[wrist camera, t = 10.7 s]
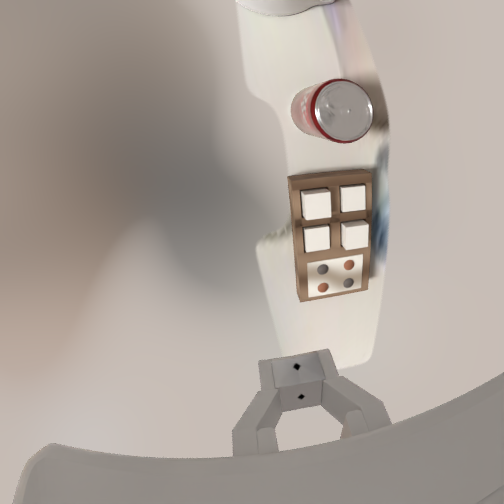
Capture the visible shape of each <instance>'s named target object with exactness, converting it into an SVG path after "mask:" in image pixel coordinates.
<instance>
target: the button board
mask: <svg viewBox="0 0 504 504" xmlns="http://www.w3.org/2000/svg"><path fill="white" fill-rule="evenodd" d="M287 178H288V188H289V199H290V209H291V220H292V232H293V244H294V257H295V271H296V286H297V294H298V297H299V300H300V302H305V301H311V300H316V299H322V298H328V297H333V296H338V295H344V294H349V293H354V292H359V291H364V290H368V280H369V267H370V250H371V224H372V173H370V172H368V171H366V170H364V169H359V170H347V171H335V172H325V173H315V174H306V175H297V176H288V177H287ZM360 183H361V184H363V185H365V210H357V211H349V212H342V211H341V210H340V195H339V185H349V184H360ZM317 188H326V189H327V190H328V191H330V196H331V217H328V218H320V219H313V220H306V219H305V218H304V216H303V215H302V204H301V192H300V190H308V189H317ZM357 219H363V220H364V221H365V222H366V223H367V224H369V229H368V247H363V248H357V249H351V250H346V249H345V248H344V247H343V246H342V244H341V226H340V222H342V221H350V220H357ZM320 224H327V225H328V226H329V239H330V249H326V250H319V251H313V252H306V250H305V248H304V245H303V230H302V227H306V226H313V225H320Z"/></svg>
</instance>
